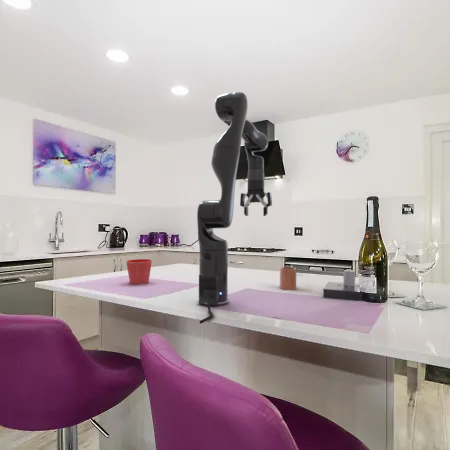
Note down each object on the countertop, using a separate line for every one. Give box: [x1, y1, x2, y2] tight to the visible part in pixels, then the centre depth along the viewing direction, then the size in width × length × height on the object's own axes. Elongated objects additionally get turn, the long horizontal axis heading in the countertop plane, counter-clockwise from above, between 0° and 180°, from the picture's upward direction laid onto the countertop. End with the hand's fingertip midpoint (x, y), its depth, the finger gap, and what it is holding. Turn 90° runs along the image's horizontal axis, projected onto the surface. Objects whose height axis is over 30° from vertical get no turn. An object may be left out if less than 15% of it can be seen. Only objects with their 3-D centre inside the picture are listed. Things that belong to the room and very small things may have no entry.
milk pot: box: [279, 266, 297, 291], centre depth 132 cm, size 6×6×8 cm
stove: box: [322, 281, 362, 302], centre depth 120 cm, size 16×12×3 cm
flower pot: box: [126, 258, 153, 285], centre depth 144 cm, size 11×11×10 cm
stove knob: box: [343, 268, 356, 287], centre depth 121 cm, size 4×4×6 cm
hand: (255, 215), depth 149 cm, fingers open, 8 cm apart
